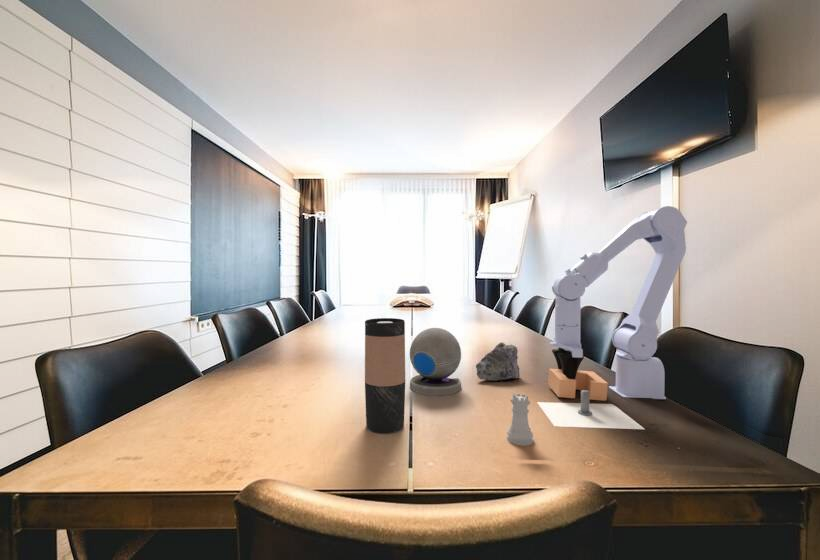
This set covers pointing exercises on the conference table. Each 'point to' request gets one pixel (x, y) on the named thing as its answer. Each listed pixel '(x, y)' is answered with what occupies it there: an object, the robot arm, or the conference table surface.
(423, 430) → the conference table surface
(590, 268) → the robot arm
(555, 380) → the c link
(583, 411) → the stand
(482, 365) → the mineral rock
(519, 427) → the rook chess piece
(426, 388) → the webcam
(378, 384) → the travel mug
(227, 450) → the conference table surface
